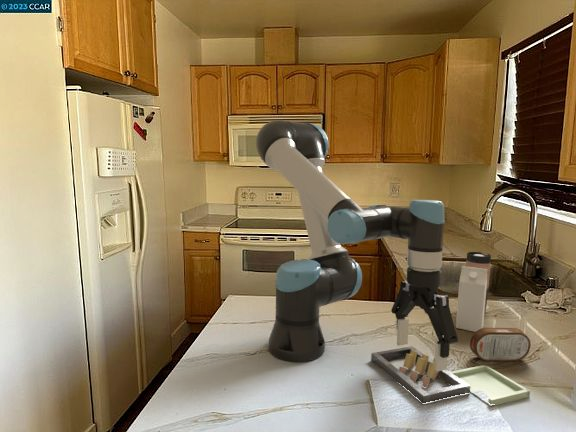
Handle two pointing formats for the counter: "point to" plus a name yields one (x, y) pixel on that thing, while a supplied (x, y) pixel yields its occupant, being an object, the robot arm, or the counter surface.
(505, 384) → the tray pad
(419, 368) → the ammunition
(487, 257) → the travel mug
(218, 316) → the counter surface
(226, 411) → the counter surface
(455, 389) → the gray rectangular frame
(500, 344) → the tin
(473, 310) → the milk carton
